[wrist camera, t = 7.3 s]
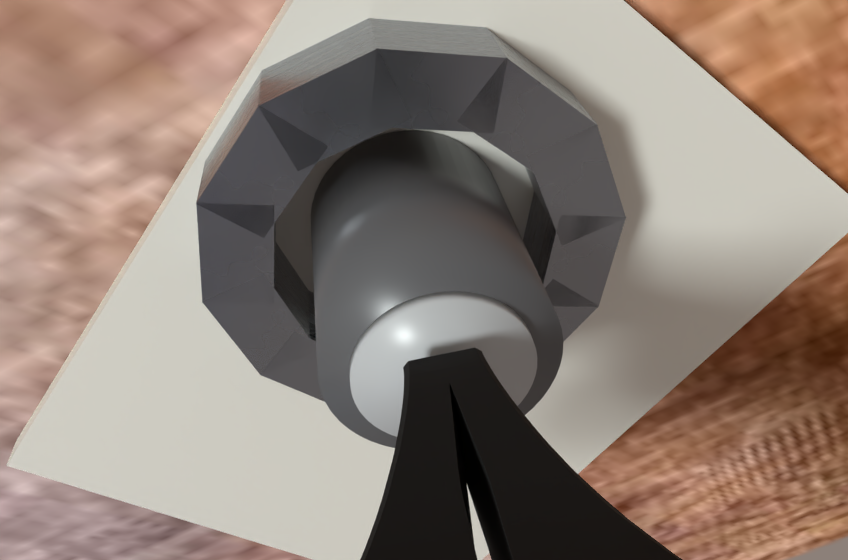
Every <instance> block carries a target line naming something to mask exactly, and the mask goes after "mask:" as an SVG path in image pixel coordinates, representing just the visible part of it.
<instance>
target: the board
mask: <svg viewBox="0 0 848 560" xmlns="http://www.w3.org/2000/svg"><path fill="white" fill-rule="evenodd" d="M368 18H374V19H387V20H400V21H412V22H425V23H438V24H450V25H463V26H476V27H487V28H488V29H489V30H490V31H492V32H493V33H494V34H496V35H497V36H498V37H500V38H501V39H502V40H504V41H505V42H506V43H508V44H509V45H510V46H512V47H513V48H514V49H516V50H517V51H518V52H520V53H521V54H522V55H524V56H525V57H526V58H528V59H529V60H530V61H531V62H533V63H534V64H535V65H537V66H538V67H539V68H541V69H542V70H543V71H545V72H546V73H547V74H549V75H550V76H551V77H553V78H554V79H555V80H557V81H558V82H559V83H561V84H562V85H563V86H565V87H566V88H567V89H569V90H570V91H571V92H572V94H573V95H574V96H575V97H576V99H577V100H578V101H579V102H580V104H581V105H582V106H583V107H584V109H585V110H586V111H587V112H588V114H589V115H590V116H591V117H592V119H593V120H594V121H595V122H596V124H597V126H598V129H599V132H600V135H601V139H602V142H603V145H604V148H605V152H606V155H607V158H608V161H609V164H610V168H611V171H612V174H613V177H614V181H615V184H616V187H617V190H618V193H619V197H620V200H621V203H622V206H623V210H624V213H625V216H626V219H625V222H624V226H623V229H622V232H621V235H620V239H619V242H618V245H617V248H616V252H615V255H614V258H613V261H612V265H611V268H610V271H609V274H608V278H607V281H606V284H605V287H604V291H603V294H602V297H601V301H600V304H599V307H598V308H597V309H596V310H595V311H594V312H593V313H592V314H591V315H590V316H589V317H588V318H587V319H586V320H585V321H584V322H583V323H582V324H581V325H580V326H579V327H578V328H577V329H576V330H575V331H574V332H573V333H572V334H571V335H570V336H569V337H568V338H567V339H566V340H565V341H564V342H563V355H562V359H561V364H560V367H559V370H558V372H557V375H556V377H555V379H554V381H553V383H552V385H551V386H550V388H549V390H548V391H547V392H546V394H545V395H544V396H543V398H542V399H541V400H540V401H539V402H538V403H537V404H536V405H535V407H534V408H533V409H532V410H530V411H529V412H528V413H527V414H526V415H525V416H526V417H527V419H528V420H529V421H530V422H531V424H532V425H533V426H534V427H535V428H536V430H537V431H538V432H539V433H540V434H541V435H542V437H543V438H544V439H545V440H546V441H547V442H548V443H549V445H550V446H551V447H552V448H553V449H554V450H555V451H556V452H557V453H558V454H559V455H560V456H561V457H562V458H563V459H564V461H565V462H566V463H567V464H568V465H569V466H570V467H571V468H572V469H573V470H574V471H575V472H576V473H577V474H578V473H579V472H580V471H582V470H583V469H584V468H585V467H586V466H587V465H588V464H589V463H591V462H592V461H593V460H594V459H595V458H596V457H597V456H598V455H599V454H601V453H602V452H603V451H604V450H605V449H606V448H607V447H608V446H610V445H611V444H612V443H613V442H614V441H615V440H616V439H617V438H618V437H620V436H621V435H622V434H623V433H624V432H625V431H626V430H627V429H629V428H630V427H631V426H632V425H633V424H634V423H635V422H636V421H638V420H639V419H640V418H641V417H642V416H643V415H644V414H645V413H646V412H648V411H649V410H650V409H651V408H652V407H653V406H654V405H655V404H657V403H658V402H659V401H660V400H661V399H662V398H663V397H664V396H666V395H667V394H668V393H669V392H670V391H671V390H672V389H673V388H674V387H676V386H677V385H678V384H679V383H680V382H681V381H682V380H683V379H685V378H686V377H687V376H688V375H689V374H690V373H691V372H692V371H694V370H695V369H696V368H697V367H698V366H699V365H700V364H701V363H702V362H704V361H705V360H706V359H707V358H708V357H709V356H710V355H711V354H713V353H714V352H715V351H716V350H717V349H718V348H719V347H720V346H722V345H723V344H724V343H725V342H726V341H727V340H728V339H729V338H730V337H732V336H733V335H734V334H735V333H736V332H737V331H738V330H739V329H741V328H742V327H743V326H744V325H745V324H746V323H747V322H748V321H750V320H751V319H752V318H753V317H754V316H755V315H756V314H757V313H758V312H760V311H761V310H762V309H763V308H764V307H765V306H766V305H767V304H769V303H770V302H771V301H772V300H773V299H774V298H775V297H776V296H778V295H779V294H780V293H781V292H782V291H783V290H784V289H785V288H786V287H788V286H789V285H790V284H791V283H792V282H793V281H794V280H795V279H797V278H798V277H799V276H800V275H801V274H802V273H803V272H804V271H806V270H807V269H808V268H809V267H810V266H811V265H812V264H813V263H814V262H816V261H817V260H818V259H819V258H820V257H821V256H822V255H823V254H825V253H826V252H827V251H828V250H829V249H830V248H831V247H832V246H833V245H835V244H836V243H837V242H838V241H839V240H840V239H841V238H842V237H844V236H845V235H846V234H847V233H848V194H847V193H846V192H845V191H844V190H843V189H842V188H840V187H839V186H838V185H837V184H836V183H835V182H834V181H832V180H831V179H830V178H829V177H828V176H827V175H825V174H824V173H823V172H822V171H821V170H820V169H818V168H817V167H816V166H815V165H814V164H813V163H812V162H810V161H809V160H808V159H807V158H806V157H805V156H803V155H802V154H801V153H800V152H799V151H798V150H796V149H795V148H794V147H793V146H792V145H791V144H790V143H788V142H787V141H786V140H785V139H784V138H783V137H781V136H780V135H779V134H778V133H777V132H776V131H774V130H773V129H772V128H771V127H770V126H769V125H768V124H766V123H765V122H764V121H763V120H762V119H761V118H759V117H758V116H757V115H756V114H755V113H754V112H752V111H751V110H750V109H749V108H748V107H747V106H745V105H744V104H743V103H742V102H741V101H740V100H739V99H737V98H736V97H735V96H734V95H733V94H732V93H730V92H729V91H728V90H727V89H726V88H725V87H723V86H722V85H721V84H720V83H719V82H718V81H717V80H715V79H714V78H713V77H712V76H711V75H710V74H708V73H707V72H706V71H705V70H704V69H703V68H701V67H700V66H699V65H698V64H697V63H696V62H695V61H693V60H692V59H691V58H690V57H689V56H688V55H686V54H685V53H684V52H683V51H682V50H681V49H679V48H678V47H677V46H676V45H675V44H674V43H673V42H671V41H670V40H669V39H668V38H667V37H666V36H664V35H663V34H662V33H661V32H660V31H659V30H657V29H656V28H655V27H654V26H653V25H652V24H650V23H649V22H648V21H647V20H646V19H645V18H644V17H642V16H641V15H640V14H639V13H638V12H637V11H635V10H634V9H633V8H632V7H631V6H630V5H628V4H627V3H626V2H625V1H624V0H286V1H285V3H284V5H283V6H282V8H281V10H280V11H279V13H278V15H277V16H276V18H275V19H274V21H273V23H272V24H271V26H270V28H269V29H268V31H267V32H266V34H265V36H264V37H263V39H262V41H261V42H260V44H259V46H258V47H257V49H256V50H255V52H254V54H253V55H252V57H251V59H250V60H249V62H248V63H247V65H246V67H245V68H244V70H243V72H242V73H241V75H240V77H239V78H238V80H237V81H236V83H235V85H234V86H233V88H232V90H231V91H230V93H229V94H228V96H227V98H226V99H225V101H224V103H223V104H222V106H221V108H220V109H219V111H218V112H217V114H216V116H215V117H214V119H213V121H212V122H211V124H210V125H209V127H208V129H207V130H206V132H205V134H204V135H203V137H202V139H201V140H200V142H199V143H198V145H197V147H196V148H195V150H194V152H193V153H192V155H191V156H190V158H189V160H188V161H187V163H186V165H185V166H184V168H183V170H182V171H181V173H180V174H179V176H178V178H177V179H176V181H175V183H174V184H173V186H172V187H171V189H170V191H169V192H168V194H167V196H166V197H165V199H164V201H163V202H162V204H161V205H160V207H159V209H158V210H157V212H156V214H155V215H154V217H153V218H152V220H151V222H150V223H149V225H148V227H147V228H146V230H145V232H144V233H143V235H142V236H141V238H140V240H139V241H138V243H137V245H136V246H135V248H134V249H133V251H132V253H131V254H130V256H129V258H128V259H127V261H126V263H125V264H124V266H123V267H122V269H121V271H120V272H119V274H118V276H117V277H116V279H115V280H114V282H113V284H112V285H111V287H110V289H109V290H108V292H107V294H106V295H105V297H104V298H103V300H102V302H101V303H100V305H99V307H98V308H97V310H96V311H95V313H94V315H93V316H92V318H91V320H90V321H89V323H88V325H87V326H86V328H85V329H84V331H83V333H82V334H81V336H80V338H79V339H78V341H77V342H76V344H75V346H74V347H73V349H72V351H71V352H70V354H69V356H68V357H67V359H66V360H65V362H64V364H63V365H62V367H61V369H60V370H59V372H58V373H57V375H56V377H55V378H54V380H53V382H52V383H51V385H50V387H49V388H48V390H47V391H46V393H45V395H44V396H43V398H42V400H41V401H40V403H39V404H38V406H37V408H36V409H35V411H34V413H33V414H32V416H31V418H30V419H29V421H28V422H27V424H26V426H25V427H24V429H23V431H22V432H21V434H20V435H19V437H18V439H17V441H16V443H15V446H14V448H13V451H12V453H11V456H10V458H9V461H8V463H7V466H9V467H12V468H16V469H19V470H22V471H25V472H29V473H32V474H35V475H38V476H42V477H45V478H48V479H51V480H55V481H58V482H61V483H65V484H68V485H71V486H74V487H78V488H81V489H84V490H87V491H91V492H94V493H97V494H101V495H104V496H107V497H110V498H114V499H117V500H120V501H123V502H127V503H130V504H133V505H136V506H140V507H143V508H146V509H150V510H153V511H156V512H159V513H163V514H166V515H169V516H172V517H176V518H179V519H182V520H186V521H189V522H192V523H195V524H199V525H202V526H205V527H208V528H212V529H215V530H218V531H221V532H225V533H228V534H231V535H235V536H238V537H241V538H244V539H248V540H251V541H254V542H257V543H261V544H264V545H267V546H271V547H274V548H277V549H280V550H284V551H287V552H290V553H293V554H297V555H300V556H303V557H306V558H310V559H313V560H360V559H361V557H362V554H363V552H364V549H365V547H366V544H367V541H368V539H369V536H370V533H371V530H372V528H373V525H374V522H375V519H376V516H377V513H378V510H379V507H380V504H381V500H382V497H383V494H384V490H385V486H386V482H387V479H388V475H389V471H390V467H391V464H392V460H393V455H394V451H395V448H392V447H388V446H384V445H381V444H378V443H375V442H372V441H369V440H367V439H365V438H363V437H361V436H359V435H357V434H356V433H354V432H353V431H351V430H350V429H348V428H347V427H346V426H345V425H343V424H342V423H341V422H340V421H339V420H338V419H337V418H336V417H335V416H334V414H333V413H332V412H331V411H330V409H329V408H328V406H327V404H326V403H325V402H324V401H322V400H319V399H317V398H314V397H312V396H310V395H307V394H305V393H302V392H300V391H297V390H295V389H293V388H290V387H288V386H285V385H283V384H281V383H278V382H276V381H273V380H271V379H269V378H266V377H264V376H261V375H260V374H259V373H258V371H257V370H256V369H255V368H254V366H253V365H252V364H251V363H250V361H249V360H248V359H247V358H246V356H245V355H244V354H243V353H242V351H241V350H240V349H239V348H238V346H237V345H236V344H235V343H234V341H233V340H232V339H231V338H230V336H229V335H228V334H227V333H226V331H225V330H224V329H223V328H222V326H221V325H220V324H219V323H218V321H217V320H216V319H215V318H214V316H213V315H212V314H211V313H210V311H209V310H208V309H207V308H206V306H205V305H204V304H203V303H202V290H201V273H200V256H199V240H198V223H197V207H196V201H197V197H198V192H199V187H200V183H201V178H202V173H203V169H204V164H205V160H206V159H207V157H208V156H209V154H210V153H211V151H212V149H213V148H214V146H215V145H216V143H217V141H218V140H219V138H220V137H221V135H222V133H223V132H224V130H225V129H226V127H227V125H228V124H229V122H230V121H231V119H232V117H233V116H234V114H235V113H236V111H237V109H238V108H239V106H240V105H241V103H242V101H243V100H244V98H245V97H246V95H247V93H248V92H249V90H250V89H251V87H252V85H253V84H254V82H255V81H256V79H257V77H258V76H259V74H260V73H261V71H262V70H263V69H265V68H268V67H270V66H272V65H274V64H276V63H278V62H280V61H282V60H284V59H286V58H288V57H290V56H292V55H294V54H296V53H298V52H300V51H302V50H304V49H307V48H309V47H311V46H313V45H315V44H317V43H319V42H321V41H323V40H325V39H327V38H329V37H331V36H333V35H335V34H337V33H339V32H341V31H343V30H345V29H348V28H350V27H352V26H354V25H356V24H358V23H360V22H362V21H364V20H366V19H368ZM405 130H419V131H428V132H434V133H438V134H442V135H445V136H448V137H450V138H453V139H455V140H457V141H459V142H461V143H462V144H464V145H466V146H467V147H469V148H470V149H471V150H473V151H474V152H475V153H476V154H477V155H478V156H479V157H480V158H481V159H482V160H483V161H484V162H485V164H486V165H487V166H488V168H489V169H490V171H491V173H492V175H493V177H494V179H495V181H496V183H497V185H498V187H499V189H500V192H501V194H502V196H503V198H504V200H505V203H506V205H507V207H508V209H509V211H510V213H511V216H512V218H513V220H514V222H515V224H516V227H517V229H518V231H519V233H520V235H521V237H522V240H523V238H524V233H525V229H526V224H527V220H528V215H529V211H530V207H531V202H532V198H533V193H534V189H533V186H532V184H531V181H530V179H529V176H528V173H527V171H526V168H525V166H524V165H522V164H521V163H519V162H518V161H516V160H515V159H513V158H512V157H510V156H509V155H507V154H506V153H504V152H503V151H501V150H499V149H498V148H496V147H495V146H493V145H492V144H490V143H489V142H487V141H486V140H484V139H483V138H481V137H480V136H478V135H477V134H475V133H474V132H462V131H443V130H424V129H405V128H390V129H388V130H386V131H384V132H382V133H379V134H377V135H375V136H373V137H376V136H379V135H383V134H387V133H391V132H397V131H405ZM373 137H371V138H373ZM371 138H369V139H371ZM367 140H368V139H367ZM364 141H366V140H364ZM364 141H362V142H364ZM362 142H360V143H362ZM360 143H358V144H360ZM358 144H356V145H358ZM356 145H354V146H352V147H349V148H347V149H345V150H343V151H341V152H339V153H337V154H334V155H332V156H330V157H328V158H326V159H324V160H322V161H319V162H317V163H316V165H315V166H314V167H313V169H312V170H311V172H310V173H309V175H308V176H307V177H306V179H305V180H304V182H303V183H302V184H301V186H300V187H299V189H298V190H297V192H296V193H295V194H294V196H293V197H292V199H291V200H290V202H289V203H288V204H287V206H286V207H285V209H284V210H283V212H282V213H281V214H280V216H279V217H278V219H277V220H276V243H277V244H278V246H279V247H280V249H281V250H282V252H283V253H284V255H285V256H286V258H287V259H288V261H289V262H290V264H291V265H292V267H293V268H294V270H295V271H296V272H297V274H298V275H299V277H300V278H301V280H302V281H303V283H304V284H305V286H306V287H307V289H308V290H309V291H311V292H313V293H314V283H313V260H312V238H311V208H312V203H313V199H314V195H315V192H316V190H317V188H318V186H319V183H320V182H321V180H322V178H323V177H324V175H325V174H326V172H327V171H328V170H329V169H330V167H331V166H332V165H333V164H334V163H335V162H336V161H337V160H338V159H339V158H340V157H341V156H342V155H343V154H345V153H346V152H347V151H349V150H350V149H352V148H353V147H355V146H356ZM467 490H468V498H469V506H470V514H471V522H472V530H473V538H474V546H475V551H476V555H477V560H482V559H483V558H484V557H485V556H486V555H487V554H489V550H488V547H487V543H486V540H485V537H484V534H483V531H482V528H481V525H480V522H479V519H478V516H477V513H476V510H475V507H474V504H473V501H472V498H471V495H470V492H469V489H468V486H467Z"/></svg>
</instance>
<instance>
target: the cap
mask: <svg viewBox="0 0 848 560" xmlns="http://www.w3.org/2000/svg"><path fill="white" fill-rule="evenodd" d="M311 238H312V260H313V283H314V306H315V328H316V351H317V374H318V382H319V387H320V391H321V394H322V396H323V398H324V401H325V403H326V404H327V406H328V408H329V409H330V411H331V412H332V413H333V414H334V416H335V417H336V418H337V419H338V420H339V421H340V422H341V423H342V424H343V425H345V426H346V427H347V428H348V429H350V430H351V431H353V432H354V433H356V434H357V435H359V436H361V437H363V438H365V439H367V440H369V441H372V442H375V443H378V444H381V445H384V446H388V447H392V448H395V446H396V440H397V435H398V430H399V425H400V419H401V411H402V404H403V393H404V370H403V367H404V366H405V364H406V363H407V362H408V361H411V360H415V359H420V358H425V357H430V356H435V355H440V354H445V353H450V352H455V351H460V350H465V349H470V348H477V349H479V350H481V351H482V353H483V355H484V357H485V359H486V361H487V362H488V364H489V366H490V368H491V369H492V371H493V372H494V374H495V376H496V377H497V379H498V380H499V382H500V383H501V384H502V386H503V387H504V389H505V390H506V391H507V393H508V394H509V396H510V397H511V398H512V400H513V401H514V402H515V404H516V405H517V406H518V408H519V409H520V410H521V411H522V413H523V414H524V415H526V414H527V413H528V412H529V411H530V410H532V409H533V408H534V407H535V405H536V404H537V403H538V402H539V401H540V400H541V399H542V398H543V396H544V395H545V394H546V392H547V391H548V390H549V388H550V386H551V385H552V383H553V381H554V379H555V377H556V375H557V372H558V370H559V367H560V364H561V359H562V355H563V334H562V328H561V325H560V322H559V318H558V316H557V314H556V312H555V309H554V307H553V305H552V303H551V301H550V299H549V296H548V294H547V292H546V290H545V288H544V285H543V283H542V281H541V279H540V277H539V275H538V272H537V270H536V268H535V266H534V264H533V261H532V259H531V257H530V255H529V253H528V251H527V248H526V246H525V244H524V242H523V240H522V237H521V235H520V233H519V231H518V229H517V227H516V224H515V222H514V220H513V218H512V216H511V213H510V211H509V209H508V207H507V205H506V203H505V200H504V198H503V196H502V194H501V192H500V189H499V187H498V185H497V183H496V181H495V179H494V177H493V175H492V173H491V171H490V169H489V168H488V166H487V165H486V164H485V162H484V161H483V160H482V159H481V158H480V157H479V156H478V155H477V154H476V153H475V152H474V151H473V150H471V149H470V148H469V147H467V146H466V145H464V144H462V143H461V142H459V141H457V140H455V139H453V138H450V137H448V136H445V135H442V134H438V133H434V132H428V131H419V130H405V131H397V132H391V133H387V134H383V135H379V136H376V137H373V138H371V139H368V140H366V141H364V142H362V143H360V144H358V145H356V146H355V147H353V148H352V149H350V150H349V151H347V152H346V153H345V154H343V155H342V156H341V157H340V158H339V159H338V160H337V161H336V162H335V163H334V164H333V165H332V166H331V167H330V169H329V170H328V171H327V172H326V174H325V175H324V177H323V178H322V180H321V182H320V183H319V186H318V188H317V190H316V192H315V195H314V199H313V203H312V208H311Z"/></svg>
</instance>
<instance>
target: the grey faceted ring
mask: <svg viewBox="0 0 848 560" xmlns="http://www.w3.org/2000/svg"><path fill="white" fill-rule="evenodd" d="M390 128H405V129H424V130H443V131H462V132H474V133H475V134H477V135H478V136H480V137H481V138H483V139H484V140H486V141H487V142H489V143H490V144H492V145H493V146H495V147H496V148H498V149H499V150H501V151H503V152H504V153H506V154H507V155H509V156H510V157H512V158H513V159H515V160H516V161H518V162H519V163H521V164H522V165H524V166H525V168H526V171H527V173H528V176H529V179H530V181H531V184H532V186H533V189H534V193H533V198H532V202H531V207H530V211H529V215H528V220H527V224H526V229H525V233H524V238H523V242H524V244H525V246H526V248H527V251H528V253H529V255H530V257H531V259H532V261H533V264H534V266H535V268H536V270H537V272H538V275H539V277H540V279H541V281H542V283H543V285H544V288H545V290H546V292H547V294H548V296H549V299H550V301H551V303H552V305H553V307H554V309H555V312H556V314H557V316H558V318H559V322H560V325H561V328H562V334H563V342H564V341H565V340H566V339H567V338H568V337H569V336H570V335H571V334H572V333H573V332H574V331H575V330H576V329H577V328H578V327H579V326H580V325H581V324H582V323H583V322H584V321H585V320H586V319H587V318H588V317H589V316H590V315H591V314H592V313H593V312H594V311H595V310H596V309H597V308H598V307H599V304H600V301H601V297H602V294H603V291H604V287H605V284H606V281H607V278H608V274H609V271H610V268H611V265H612V261H613V258H614V255H615V252H616V248H617V245H618V242H619V239H620V235H621V232H622V229H623V226H624V222H625V219H626V216H625V213H624V210H623V206H622V203H621V200H620V197H619V193H618V190H617V187H616V184H615V181H614V177H613V174H612V171H611V168H610V164H609V161H608V158H607V155H606V152H605V148H604V145H603V142H602V139H601V135H600V132H599V129H598V126H597V124H596V122H595V121H594V120H593V119H592V117H591V116H590V115H589V114H588V112H587V111H586V110H585V109H584V107H583V106H582V105H581V104H580V102H579V101H578V100H577V99H576V97H575V96H574V95H573V94H572V92H571V91H570V90H569V89H567V88H566V87H565V86H563V85H562V84H561V83H559V82H558V81H557V80H555V79H554V78H553V77H551V76H550V75H549V74H547V73H546V72H545V71H543V70H542V69H541V68H539V67H538V66H537V65H535V64H534V63H533V62H531V61H530V60H529V59H528V58H526V57H525V56H524V55H522V54H521V53H520V52H518V51H517V50H516V49H514V48H513V47H512V46H510V45H509V44H508V43H506V42H505V41H504V40H502V39H501V38H500V37H498V36H497V35H496V34H494V33H493V32H492V31H490V30H489V29H488V28H487V27H476V26H463V25H450V24H438V23H425V22H412V21H400V20H387V19H374V18H368V19H366V20H364V21H362V22H360V23H358V24H356V25H354V26H352V27H350V28H348V29H345V30H343V31H341V32H339V33H337V34H335V35H333V36H331V37H329V38H327V39H325V40H323V41H321V42H319V43H317V44H315V45H313V46H311V47H309V48H307V49H304V50H302V51H300V52H298V53H296V54H294V55H292V56H290V57H288V58H286V59H284V60H282V61H280V62H278V63H276V64H274V65H272V66H270V67H268V68H265V69H263V70H262V71H261V73H260V74H259V76H258V77H257V79H256V81H255V82H254V84H253V85H252V87H251V89H250V90H249V92H248V93H247V95H246V97H245V98H244V100H243V101H242V103H241V105H240V106H239V108H238V109H237V111H236V113H235V114H234V116H233V117H232V119H231V121H230V122H229V124H228V125H227V127H226V129H225V130H224V132H223V133H222V135H221V137H220V138H219V140H218V141H217V143H216V145H215V146H214V148H213V149H212V151H211V153H210V154H209V156H208V157H207V159H206V160H205V164H204V169H203V173H202V178H201V183H200V187H199V192H198V197H197V201H196V207H197V223H198V240H199V256H200V273H201V290H202V303H203V304H204V305H205V306H206V308H207V309H208V310H209V311H210V313H211V314H212V315H213V316H214V318H215V319H216V320H217V321H218V323H219V324H220V325H221V326H222V328H223V329H224V330H225V331H226V333H227V334H228V335H229V336H230V338H231V339H232V340H233V341H234V343H235V344H236V345H237V346H238V348H239V349H240V350H241V351H242V353H243V354H244V355H245V356H246V358H247V359H248V360H249V361H250V363H251V364H252V365H253V366H254V368H255V369H256V370H257V371H258V373H259V374H260V375H261V376H264V377H266V378H269V379H271V380H273V381H276V382H278V383H281V384H283V385H285V386H288V387H290V388H293V389H295V390H297V391H300V392H302V393H305V394H307V395H310V396H312V397H314V398H317V399H319V400H322V401H324V398H323V396H322V394H321V391H320V387H319V382H318V374H317V351H316V328H315V306H314V293H313V292H311V291H309V290H308V289H307V287H306V286H305V284H304V283H303V281H302V280H301V278H300V277H299V275H298V274H297V272H296V271H295V270H294V268H293V267H292V265H291V264H290V262H289V261H288V259H287V258H286V256H285V255H284V253H283V252H282V250H281V249H280V247H279V246H278V244H277V243H276V220H277V219H278V217H279V216H280V214H281V213H282V212H283V210H284V209H285V207H286V206H287V204H288V203H289V202H290V200H291V199H292V197H293V196H294V194H295V193H296V192H297V190H298V189H299V187H300V186H301V184H302V183H303V182H304V180H305V179H306V177H307V176H308V175H309V173H310V172H311V170H312V169H313V167H314V166H315V165H316V163H317V162H319V161H322V160H324V159H326V158H328V157H330V156H332V155H334V154H337V153H339V152H341V151H343V150H345V149H347V148H349V147H352V146H354V145H356V144H358V143H360V142H362V141H364V140H367V139H369V138H371V137H373V136H375V135H377V134H379V133H382V132H384V131H386V130H388V129H390ZM324 402H325V401H324Z"/></svg>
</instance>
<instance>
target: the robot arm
mask: <svg viewBox="0 0 848 560" xmlns="http://www.w3.org/2000/svg"><path fill="white" fill-rule="evenodd" d="M403 370H404V393H403V404H402V411H401V419H400V425H399V430H398V435H397V440H396V446H395V451H394V455H393V460H392V464H391V467H390V471H389V475H388V479H387V482H386V486H385V490H384V494H383V497H382V500H381V504H380V507H379V510H378V513H377V516H376V519H375V522H374V525H373V528H372V530H371V533H370V536H369V539H368V541H367V544H366V547H365V549H364V552H363V554H362V557H361V559H360V560H477V555H476V551H475V546H474V538H473V530H472V522H471V514H470V506H469V498H468V490H467V486H468V489H469V492H470V495H471V498H472V501H473V504H474V507H475V510H476V513H477V516H478V519H479V522H480V525H481V528H482V531H483V534H484V537H485V540H486V543H487V547H488V550H489V553H490V556H491V559H492V560H682V559H681V558H679V557H678V556H676V555H675V554H673V553H672V552H671V551H669V550H668V549H667V548H665V547H664V546H663V545H661V544H660V543H659V542H657V541H656V540H655V539H654V538H652V537H651V536H650V535H648V534H647V533H646V532H644V531H643V530H642V529H640V528H639V527H638V526H636V525H635V524H634V523H633V522H631V521H630V520H629V519H627V518H626V517H625V516H624V515H623V514H622V513H620V512H619V511H618V510H617V509H616V508H615V507H613V506H612V505H611V504H610V503H609V502H608V501H606V500H605V499H604V498H603V497H602V496H601V495H600V494H599V493H597V492H596V491H595V490H594V489H593V488H592V487H591V486H590V485H589V484H588V483H587V482H586V481H584V480H583V479H582V478H581V477H580V476H579V475H578V474H577V473H576V472H575V471H574V470H573V469H572V468H571V467H570V466H569V465H568V464H567V463H566V462H565V461H564V459H563V458H562V457H561V456H560V455H559V454H558V453H557V452H556V451H555V450H554V449H553V448H552V447H551V446H550V445H549V443H548V442H547V441H546V440H545V439H544V438H543V437H542V435H541V434H540V433H539V432H538V431H537V430H536V428H535V427H534V426H533V425H532V424H531V422H530V421H529V420H528V419H527V417H526V416H525V415H524V414H523V413H522V411H521V410H520V409H519V408H518V406H517V405H516V404H515V402H514V401H513V400H512V398H511V397H510V396H509V394H508V393H507V391H506V390H505V389H504V387H503V386H502V384H501V383H500V382H499V380H498V379H497V377H496V376H495V374H494V372H493V371H492V369H491V368H490V366H489V364H488V362H487V361H486V359H485V357H484V355H483V353H482V351H481V350H479V349H477V348H470V349H465V350H460V351H455V352H450V353H445V354H440V355H435V356H430V357H425V358H420V359H415V360H411V361H408V362H407V363H406V364H405V366H404V367H403Z"/></svg>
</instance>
